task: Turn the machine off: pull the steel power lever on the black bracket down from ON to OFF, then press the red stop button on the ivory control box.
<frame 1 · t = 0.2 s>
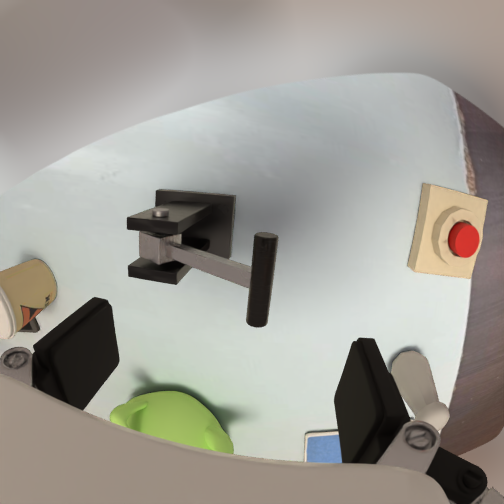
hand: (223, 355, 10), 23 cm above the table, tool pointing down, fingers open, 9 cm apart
tablet: (357, 444, 42), on the table
salt shaker: (404, 361, 36), on the table
stop button: (464, 239, 26), point 4 cm above the table, slide at 0.1 cm
power lever: (199, 259, 21), point 12 cm above the table, hinge at 28.0°
cell phone: (15, 313, 42), on the table
control box: (445, 230, 30), on the table
coffee cup: (42, 280, 39), on the table
switch bracket: (194, 222, 33), on the table
teapot: (188, 418, 43), on the table
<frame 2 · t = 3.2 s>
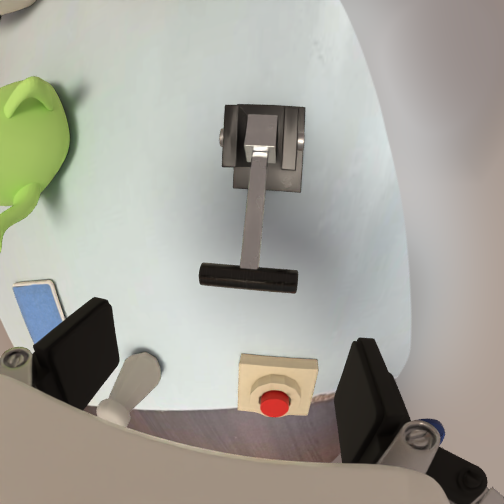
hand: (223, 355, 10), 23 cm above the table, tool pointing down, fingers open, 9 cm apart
tablet: (51, 331, 42), on the table
salt shaker: (148, 362, 40), on the table
stop button: (274, 403, 34), point 4 cm above the table, slide at 0.1 cm
power lever: (256, 197, 19), point 12 cm above the table, hinge at 28.0°
control box: (276, 381, 38), on the table
switch bracket: (269, 147, 30), on the table
teapot: (40, 152, 33), on the table
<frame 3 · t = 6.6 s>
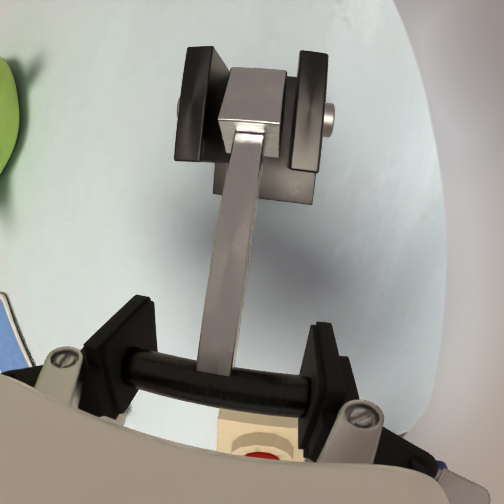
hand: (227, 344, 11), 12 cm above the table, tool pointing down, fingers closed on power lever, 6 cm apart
tablet: (10, 348, 32), on the table
stop button: (260, 465, 24), point 4 cm above the table, slide at 0.1 cm
power lever: (236, 223, 10), point 12 cm above the table, hinge at 28.0°, touching gripper
control box: (264, 435, 29), on the table
switch bracket: (269, 136, 20), on the table
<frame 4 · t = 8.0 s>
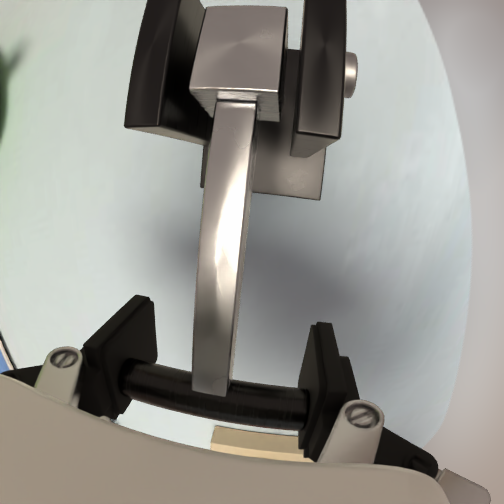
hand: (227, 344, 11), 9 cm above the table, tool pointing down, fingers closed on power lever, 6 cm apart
power lever: (225, 227, 8), point 11 cm above the table, hinge at 7.7°, touching gripper
control box: (262, 457, 25), on the table
switch bracket: (268, 119, 17), on the table
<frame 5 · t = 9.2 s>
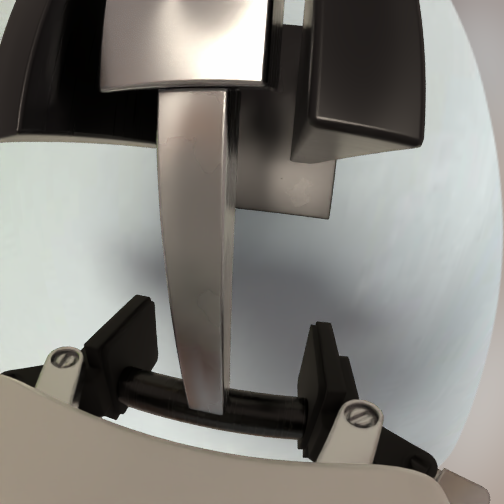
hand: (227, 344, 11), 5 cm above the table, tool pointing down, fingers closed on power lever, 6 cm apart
power lever: (200, 267, 6), point 9 cm above the table, hinge at -14.3°, touching gripper
switch bracket: (261, 113, 13), on the table
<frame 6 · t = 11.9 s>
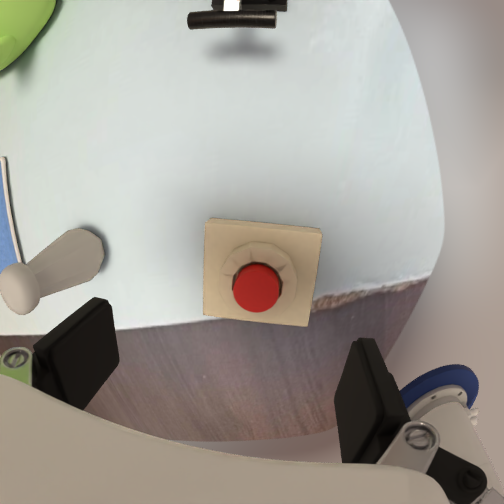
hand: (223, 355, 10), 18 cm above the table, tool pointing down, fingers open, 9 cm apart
salt shaker: (91, 248, 30), on the table
stop button: (256, 288, 24), point 4 cm above the table, slide at 0.1 cm
control box: (260, 269, 28), on the table
teapot: (23, 30, 22), on the table
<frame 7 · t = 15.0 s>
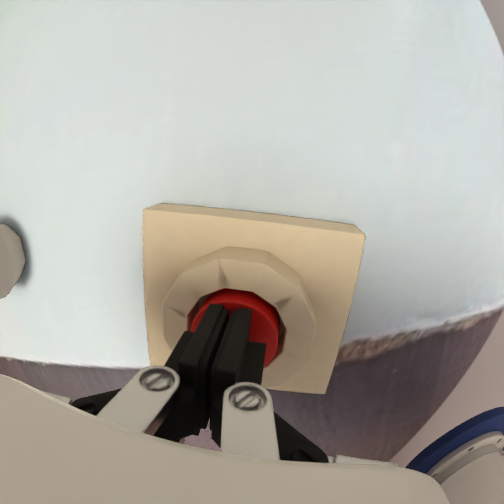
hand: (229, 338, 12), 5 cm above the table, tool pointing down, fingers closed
salt shaker: (13, 251, 18), on the table
stop button: (236, 329, 12), point 4 cm above the table, slide at -0.8 cm, touching gripper
control box: (247, 295, 16), on the table
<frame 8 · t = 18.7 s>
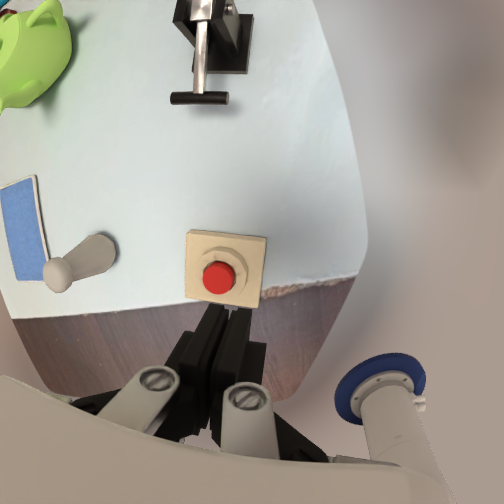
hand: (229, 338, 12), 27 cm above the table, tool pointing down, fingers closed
tablet: (26, 231, 43), on the table
salt shaker: (106, 248, 41), on the table
stop button: (218, 278, 35), point 4 cm above the table, slide at 0.1 cm
power lever: (201, 49, 24), point 9 cm above the table, hinge at -14.8°
control box: (225, 266, 40), on the table
switch bracket: (223, 44, 31), on the table
canned food: (5, 29, 31), on the table
teapot: (45, 68, 34), on the table
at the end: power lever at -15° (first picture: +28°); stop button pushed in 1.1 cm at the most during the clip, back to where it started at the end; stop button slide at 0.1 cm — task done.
